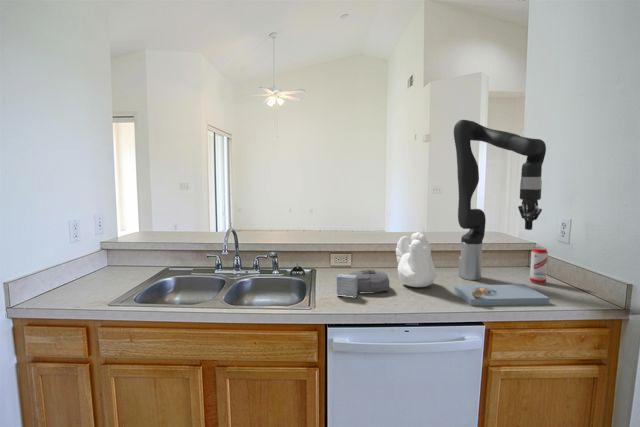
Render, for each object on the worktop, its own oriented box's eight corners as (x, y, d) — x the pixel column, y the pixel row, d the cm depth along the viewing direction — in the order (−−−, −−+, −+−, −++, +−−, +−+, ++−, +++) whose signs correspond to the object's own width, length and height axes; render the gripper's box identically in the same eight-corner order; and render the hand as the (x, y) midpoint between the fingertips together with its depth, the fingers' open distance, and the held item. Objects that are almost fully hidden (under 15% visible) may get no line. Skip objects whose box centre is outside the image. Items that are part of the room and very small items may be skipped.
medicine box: (357, 295, 144) (357, 275, 143) (355, 298, 139) (355, 278, 138) (339, 293, 146) (339, 273, 145) (336, 296, 142) (336, 276, 141)
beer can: (548, 285, 152) (550, 249, 150) (533, 284, 153) (535, 249, 151) (542, 280, 158) (544, 246, 156) (527, 280, 159) (529, 246, 157)
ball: (477, 299, 139) (473, 289, 139) (484, 296, 140) (481, 287, 141) (484, 299, 135) (480, 289, 136) (492, 296, 136) (488, 286, 137)
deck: (524, 290, 146) (524, 284, 146) (549, 304, 130) (549, 297, 130) (454, 291, 146) (454, 285, 146) (470, 305, 130) (470, 299, 130)
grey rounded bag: (384, 283, 159) (341, 284, 158) (384, 265, 158) (341, 267, 157) (392, 294, 144) (345, 295, 143) (392, 275, 143) (344, 276, 142)
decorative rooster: (442, 290, 147) (443, 234, 144) (407, 292, 145) (407, 235, 142) (419, 274, 172) (420, 225, 169) (389, 275, 170) (389, 226, 167)
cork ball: (469, 296, 132) (469, 288, 132) (475, 295, 134) (476, 286, 133) (477, 299, 129) (477, 290, 129) (483, 298, 131) (484, 289, 130)
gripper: (512, 187, 147) (510, 227, 149) (531, 188, 134) (528, 232, 136) (530, 187, 147) (528, 227, 149) (550, 188, 134) (547, 232, 136)
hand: (528, 229), depth 142 cm, fingers closed
